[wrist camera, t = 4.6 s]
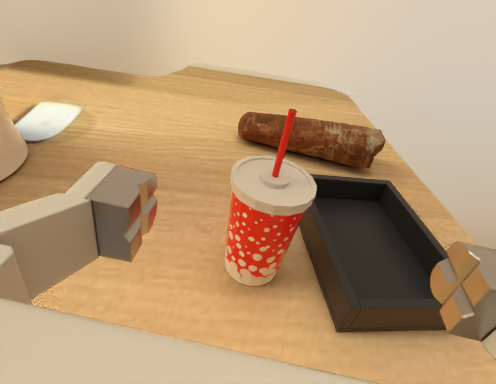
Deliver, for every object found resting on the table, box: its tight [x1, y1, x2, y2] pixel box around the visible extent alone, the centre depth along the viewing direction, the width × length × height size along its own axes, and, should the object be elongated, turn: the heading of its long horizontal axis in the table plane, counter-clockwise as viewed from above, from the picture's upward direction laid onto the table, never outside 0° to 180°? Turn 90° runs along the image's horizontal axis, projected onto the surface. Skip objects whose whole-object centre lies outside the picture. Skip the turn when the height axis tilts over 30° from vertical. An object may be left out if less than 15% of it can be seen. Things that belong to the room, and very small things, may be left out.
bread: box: [238, 112, 385, 168], centre depth 45 cm, size 6×19×6 cm, turn 80°
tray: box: [299, 174, 447, 332], centre depth 31 cm, size 12×17×3 cm
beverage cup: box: [224, 109, 317, 286], centre depth 24 cm, size 6×6×14 cm
